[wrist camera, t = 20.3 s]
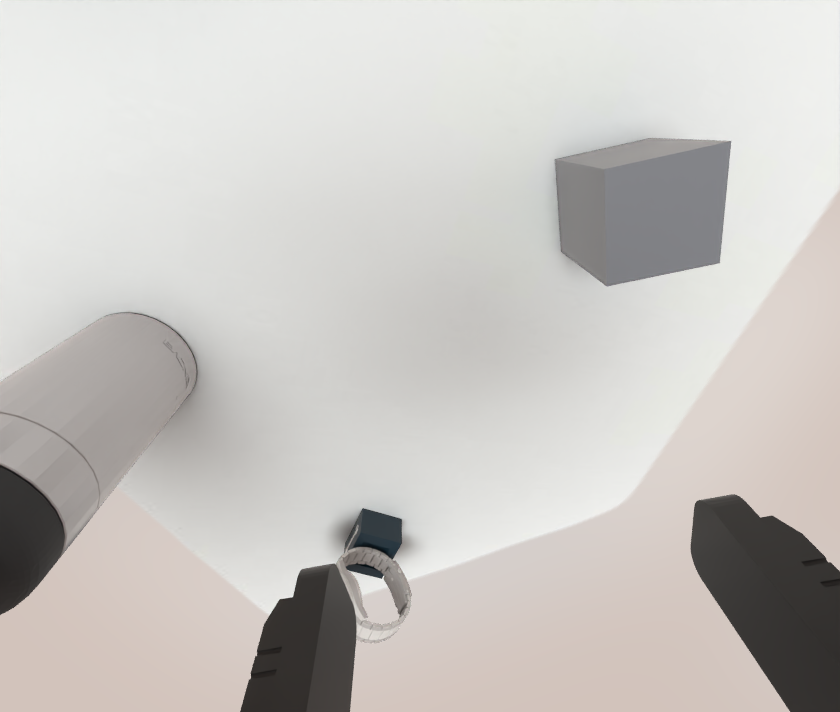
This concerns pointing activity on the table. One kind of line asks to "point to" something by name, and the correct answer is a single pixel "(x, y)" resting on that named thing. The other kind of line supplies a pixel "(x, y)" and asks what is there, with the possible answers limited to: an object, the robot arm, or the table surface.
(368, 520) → the watch
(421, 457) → the table surface
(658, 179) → the grey block
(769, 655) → the robot arm
